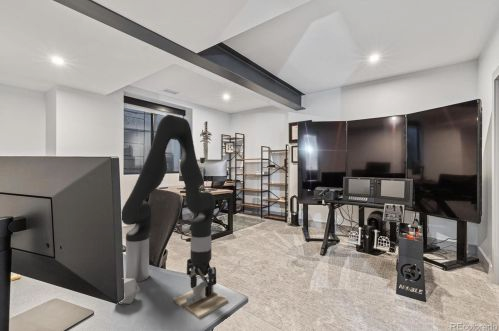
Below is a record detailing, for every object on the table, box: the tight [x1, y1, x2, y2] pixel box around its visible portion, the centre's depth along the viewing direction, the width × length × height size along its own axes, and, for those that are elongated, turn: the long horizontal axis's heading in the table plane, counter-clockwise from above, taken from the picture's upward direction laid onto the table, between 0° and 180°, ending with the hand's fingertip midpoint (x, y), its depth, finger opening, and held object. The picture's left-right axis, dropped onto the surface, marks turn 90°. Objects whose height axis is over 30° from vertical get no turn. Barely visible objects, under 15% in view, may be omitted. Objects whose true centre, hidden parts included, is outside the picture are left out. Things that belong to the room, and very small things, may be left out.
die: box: [118, 278, 141, 305], centre depth 87 cm, size 8×9×10 cm
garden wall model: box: [186, 279, 214, 306], centre depth 87 cm, size 12×2×6 cm, turn 140°
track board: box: [173, 288, 229, 319], centre depth 87 cm, size 15×13×1 cm
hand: (200, 291), depth 87 cm, fingers open, 8 cm apart
